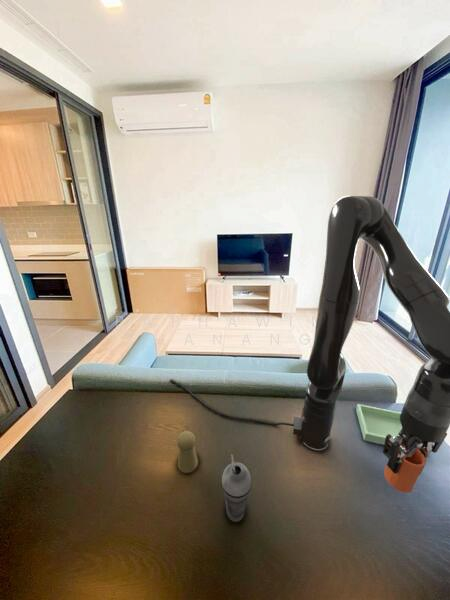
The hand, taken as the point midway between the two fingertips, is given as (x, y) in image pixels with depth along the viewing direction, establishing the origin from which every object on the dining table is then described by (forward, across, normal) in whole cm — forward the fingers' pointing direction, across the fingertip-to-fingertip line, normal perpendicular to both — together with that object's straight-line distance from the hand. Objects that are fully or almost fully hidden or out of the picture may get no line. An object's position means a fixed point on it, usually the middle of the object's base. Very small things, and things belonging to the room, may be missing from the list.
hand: (403, 466), depth 56 cm
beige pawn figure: (+18, +48, -24) cm, 57 cm away
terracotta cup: (+5, 0, 0) cm, 5 cm away
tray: (+17, -21, -20) cm, 34 cm away
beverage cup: (+18, +38, -8) cm, 42 cm away
